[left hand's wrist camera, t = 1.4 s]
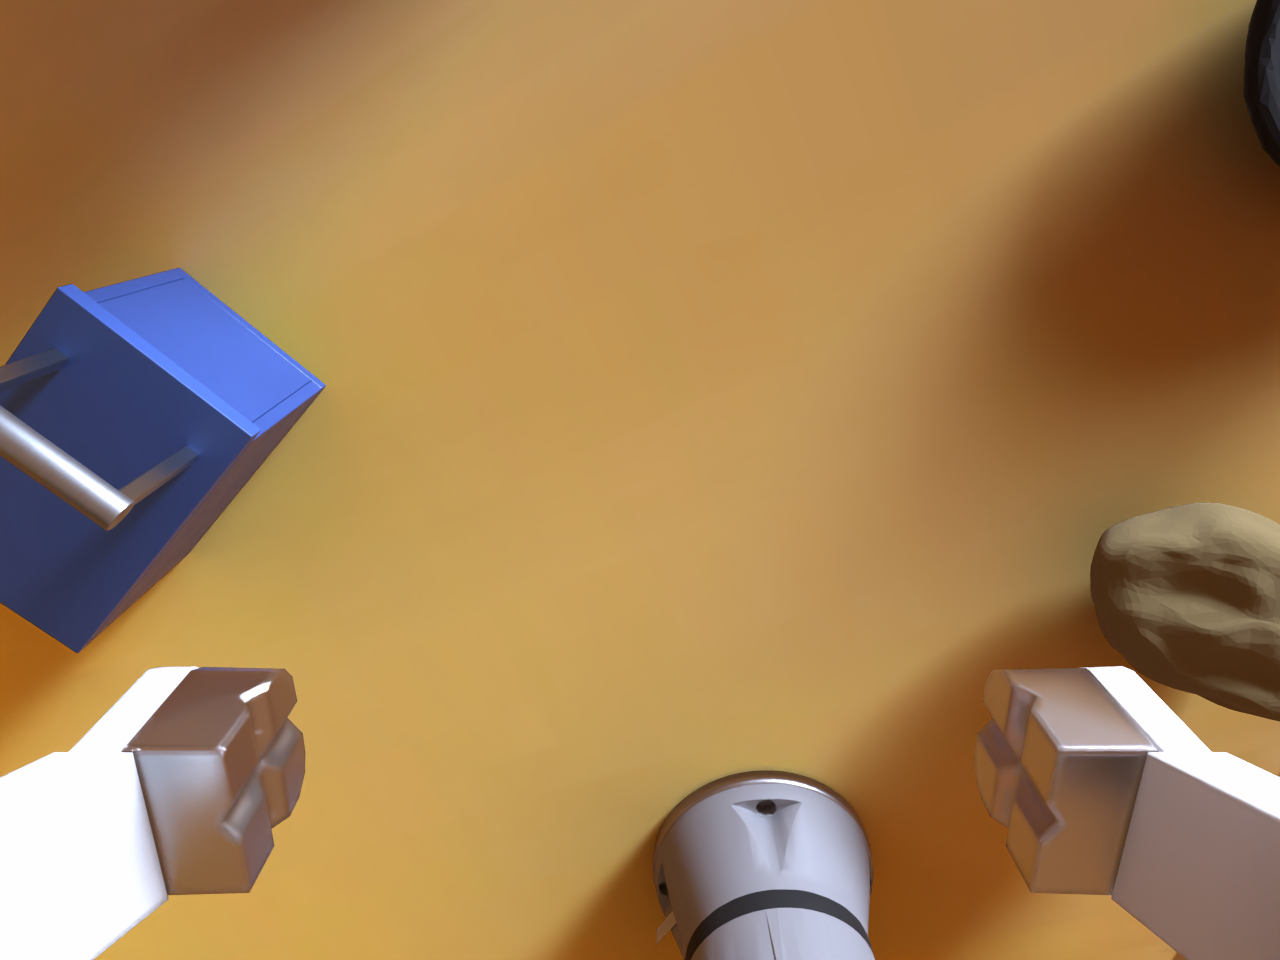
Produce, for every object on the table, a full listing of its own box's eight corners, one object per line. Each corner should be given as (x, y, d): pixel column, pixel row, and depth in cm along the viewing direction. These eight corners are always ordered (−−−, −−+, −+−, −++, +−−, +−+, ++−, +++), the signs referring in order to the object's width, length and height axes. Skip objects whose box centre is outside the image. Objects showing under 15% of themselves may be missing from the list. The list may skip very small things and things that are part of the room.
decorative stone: (1011, 604, 55) (1086, 697, 46) (1099, 445, 52) (1201, 511, 42) (1243, 678, 57) (1361, 781, 48) (1345, 530, 54) (1494, 611, 44)
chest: (179, 266, 48) (64, 296, 38) (326, 385, 50) (252, 441, 41) (45, 452, 52) (-91, 521, 42) (188, 554, 54) (90, 642, 45)
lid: (72, 283, 38) (-70, 316, 31) (261, 429, 41) (174, 494, 33) (-92, 522, 42) (-253, 604, 35) (89, 642, 45) (-24, 744, 37)
